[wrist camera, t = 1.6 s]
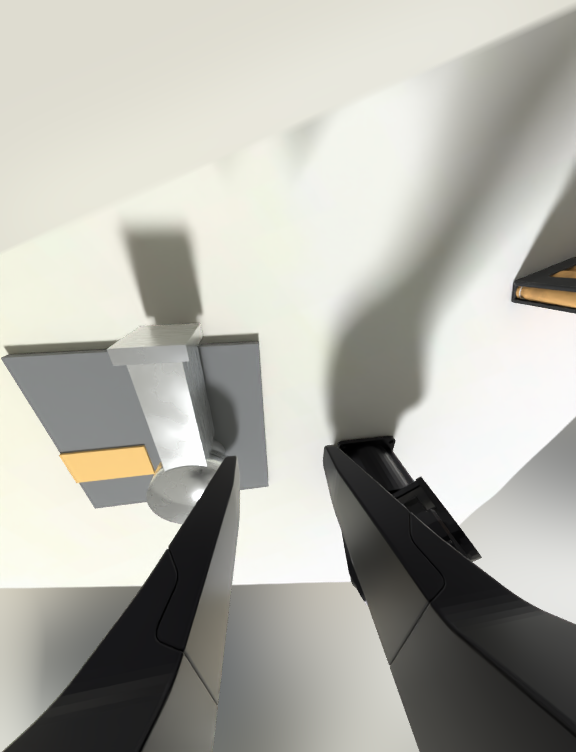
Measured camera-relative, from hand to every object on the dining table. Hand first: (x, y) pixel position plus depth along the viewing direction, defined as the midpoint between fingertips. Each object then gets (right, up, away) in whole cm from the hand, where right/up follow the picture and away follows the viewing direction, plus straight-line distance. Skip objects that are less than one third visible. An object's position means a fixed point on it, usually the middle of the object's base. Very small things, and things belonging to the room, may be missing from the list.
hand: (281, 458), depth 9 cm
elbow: (-8, 0, +11) cm, 14 cm away
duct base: (-11, -2, +13) cm, 17 cm away
